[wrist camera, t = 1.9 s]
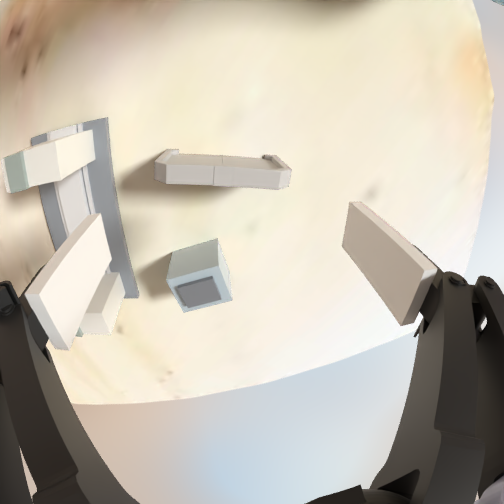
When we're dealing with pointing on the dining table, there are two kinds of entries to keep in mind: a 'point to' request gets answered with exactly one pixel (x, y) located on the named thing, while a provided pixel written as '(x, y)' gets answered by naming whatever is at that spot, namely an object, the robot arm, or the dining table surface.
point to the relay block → (199, 276)
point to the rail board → (88, 200)
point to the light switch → (222, 170)
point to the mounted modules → (54, 169)
